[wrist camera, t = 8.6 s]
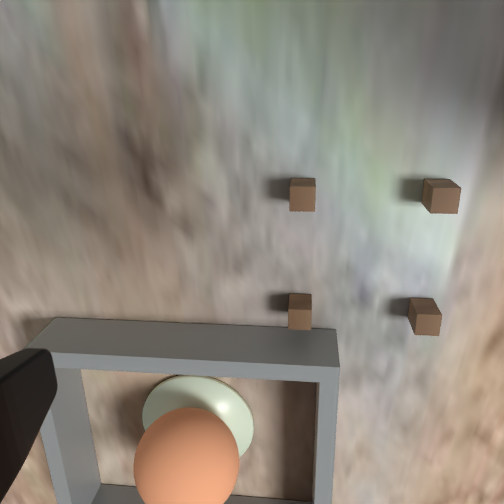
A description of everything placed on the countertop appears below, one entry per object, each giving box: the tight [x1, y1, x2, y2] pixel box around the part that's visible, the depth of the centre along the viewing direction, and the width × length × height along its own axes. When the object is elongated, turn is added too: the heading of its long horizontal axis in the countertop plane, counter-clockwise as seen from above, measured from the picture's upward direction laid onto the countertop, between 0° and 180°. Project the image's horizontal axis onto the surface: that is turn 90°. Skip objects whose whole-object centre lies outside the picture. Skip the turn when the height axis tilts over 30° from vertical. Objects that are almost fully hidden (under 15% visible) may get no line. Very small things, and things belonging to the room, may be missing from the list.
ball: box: [134, 407, 239, 504], centre depth 22 cm, size 5×5×5 cm
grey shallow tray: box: [24, 317, 340, 504], centre depth 23 cm, size 14×12×3 cm
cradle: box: [288, 178, 461, 336], centre depth 19 cm, size 6×6×2 cm
